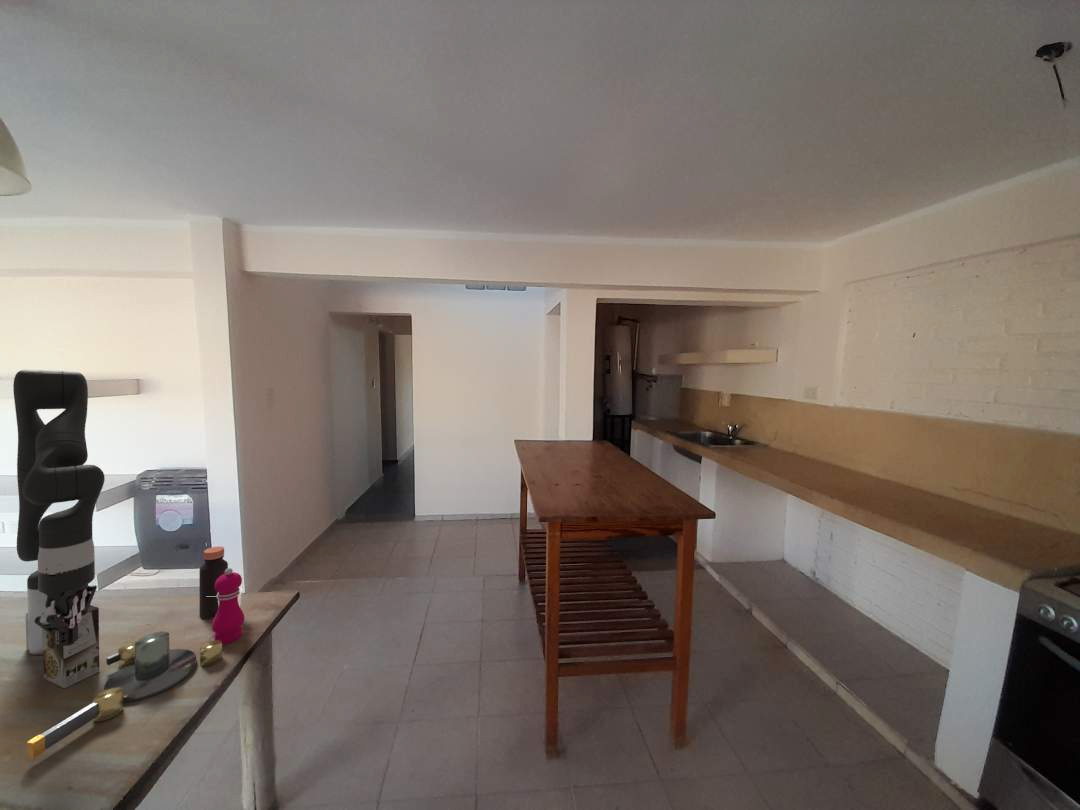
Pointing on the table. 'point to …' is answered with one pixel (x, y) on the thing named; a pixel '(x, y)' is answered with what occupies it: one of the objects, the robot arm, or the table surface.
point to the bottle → (211, 580)
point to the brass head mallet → (79, 720)
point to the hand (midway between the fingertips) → (68, 643)
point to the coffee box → (73, 652)
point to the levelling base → (153, 684)
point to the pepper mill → (228, 608)
